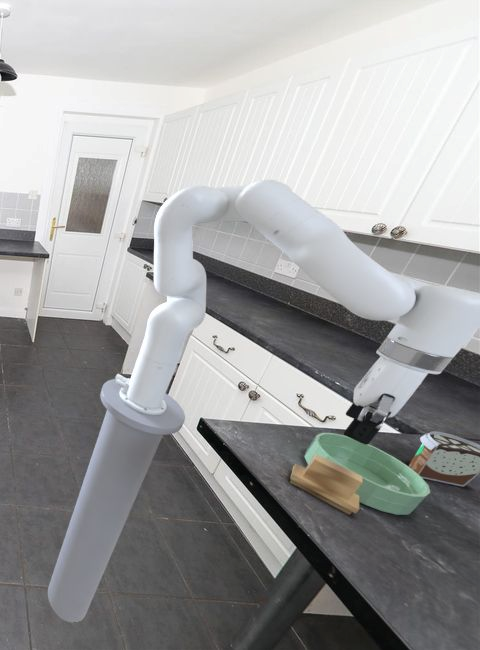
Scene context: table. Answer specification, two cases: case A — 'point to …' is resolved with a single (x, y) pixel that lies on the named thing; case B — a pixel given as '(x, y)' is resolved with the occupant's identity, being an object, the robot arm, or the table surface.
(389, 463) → the bowl
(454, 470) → the food container
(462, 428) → the table surface
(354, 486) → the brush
